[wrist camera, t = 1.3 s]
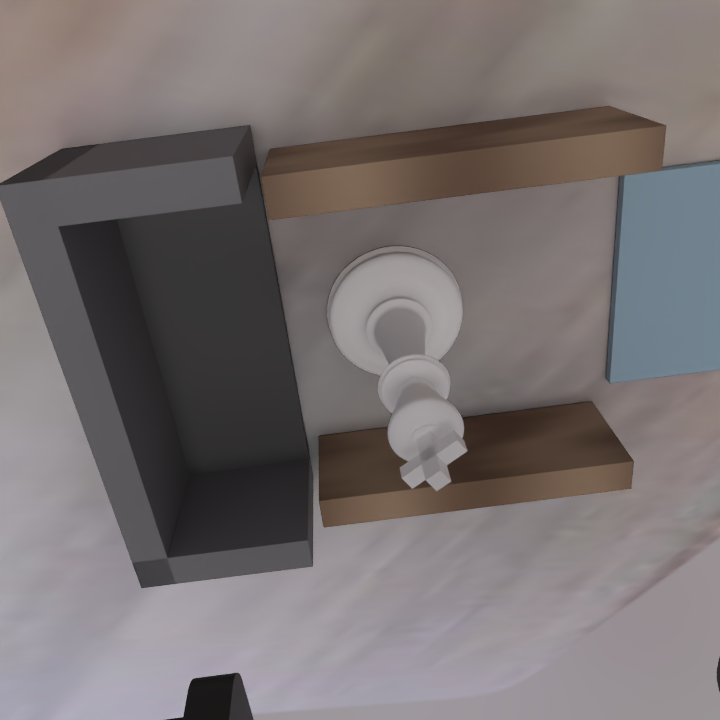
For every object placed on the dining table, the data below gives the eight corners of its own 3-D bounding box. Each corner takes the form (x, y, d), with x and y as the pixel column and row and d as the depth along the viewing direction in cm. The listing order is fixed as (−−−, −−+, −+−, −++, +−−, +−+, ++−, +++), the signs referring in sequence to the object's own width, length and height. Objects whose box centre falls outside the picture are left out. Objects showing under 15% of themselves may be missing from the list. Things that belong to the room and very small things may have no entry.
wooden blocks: (609, 105, 22) (666, 125, 18) (590, 426, 28) (631, 488, 24) (269, 148, 22) (261, 176, 18) (322, 460, 28) (323, 527, 24)
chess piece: (487, 316, 25) (581, 486, 16) (384, 392, 26) (418, 589, 17) (406, 216, 23) (462, 348, 14) (298, 304, 24) (288, 475, 16)
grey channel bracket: (249, 125, 21) (232, 156, 17) (313, 477, 28) (312, 566, 23) (61, 148, 21) (-5, 186, 17) (169, 495, 28) (141, 588, 23)
